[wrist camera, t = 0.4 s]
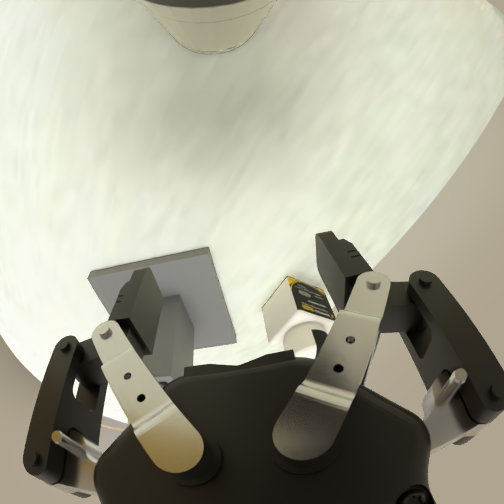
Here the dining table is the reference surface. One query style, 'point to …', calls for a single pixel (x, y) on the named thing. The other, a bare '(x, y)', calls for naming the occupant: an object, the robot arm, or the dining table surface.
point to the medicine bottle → (298, 318)
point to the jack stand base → (176, 308)
